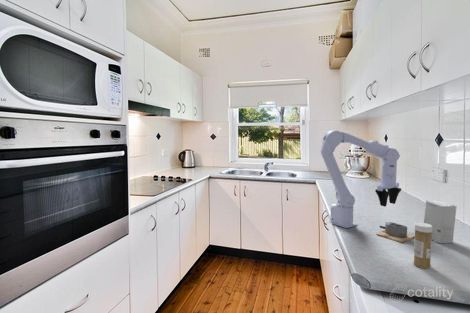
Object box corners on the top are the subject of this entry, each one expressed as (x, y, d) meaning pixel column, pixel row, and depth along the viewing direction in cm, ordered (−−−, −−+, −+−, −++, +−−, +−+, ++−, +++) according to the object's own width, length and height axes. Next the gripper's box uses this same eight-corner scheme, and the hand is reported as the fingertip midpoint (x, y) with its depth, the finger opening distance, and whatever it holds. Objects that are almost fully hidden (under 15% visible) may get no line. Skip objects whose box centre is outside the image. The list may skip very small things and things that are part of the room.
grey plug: (377, 230, 110) (377, 221, 110) (382, 229, 112) (382, 220, 112) (403, 239, 101) (404, 229, 101) (408, 236, 103) (409, 227, 103)
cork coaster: (376, 234, 108) (376, 233, 108) (389, 229, 113) (389, 228, 113) (402, 243, 99) (402, 241, 99) (414, 237, 104) (414, 235, 104)
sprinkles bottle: (433, 269, 80) (435, 227, 78) (417, 268, 80) (419, 226, 79) (425, 262, 84) (427, 222, 83) (410, 261, 85) (411, 221, 84)
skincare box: (422, 235, 106) (423, 200, 105) (435, 235, 106) (437, 199, 105) (440, 244, 97) (442, 205, 96) (455, 243, 98) (457, 204, 97)
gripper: (389, 177, 108) (388, 209, 109) (406, 174, 116) (405, 204, 117) (372, 175, 114) (372, 205, 115) (390, 172, 122) (389, 200, 123)
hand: (387, 204), depth 117 cm, fingers open, 7 cm apart
